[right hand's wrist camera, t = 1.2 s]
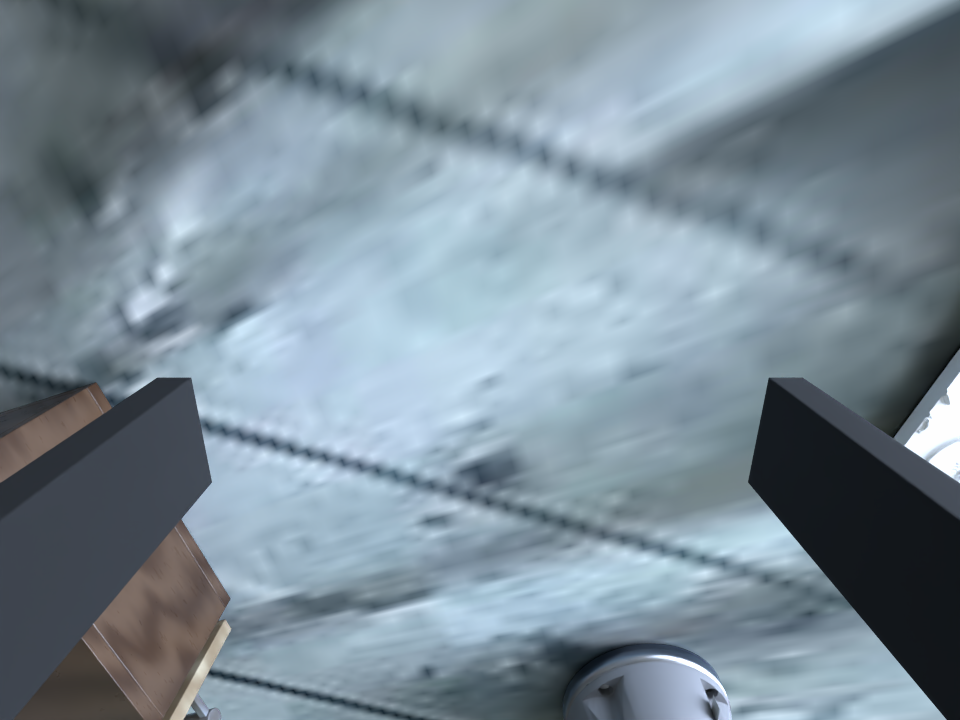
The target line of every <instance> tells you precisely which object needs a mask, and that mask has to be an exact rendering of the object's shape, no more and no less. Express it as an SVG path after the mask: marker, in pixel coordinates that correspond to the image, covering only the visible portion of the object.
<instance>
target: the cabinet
mask: <svg viewBox="0 0 960 720" xmlns="http://www.w3.org/2000/svg"><path fill="white" fill-rule="evenodd" d="M111 408H112V407H111V405H110V404H109V402H108V401H107V399H106V397H105V396H104V394H103V393H102V391H101V389H100V388H99V386H98V384H97V383H92V384H89V385H86V386H83V387H80V388H77V389H74V390H70V391H67V392H64V393H61V394H58V395H55V396H52V397H49V398H46V399H43V400H39V401H36V402H33V403H30V404H27V405H24V406H21V407H18V408H15V409H12V410H8V411H5V412H2V413H0V483H1V482H2V481H4V480H5V479H7V478H8V477H10V476H11V475H13V474H14V473H16V472H17V471H19V470H20V469H22V468H23V467H25V466H26V465H28V464H29V463H31V462H32V461H34V460H35V459H37V458H38V457H40V456H41V455H43V454H44V453H46V452H47V451H49V450H50V449H52V448H53V447H55V446H56V445H58V444H59V443H61V442H62V441H64V440H65V439H67V438H68V437H70V436H71V435H73V434H74V433H76V432H77V431H79V430H80V429H82V428H83V427H85V426H86V425H88V424H89V423H91V422H92V421H94V420H95V419H97V418H98V417H100V416H101V415H103V414H104V413H106V412H107V411H109V410H110V409H111ZM229 601H230V597H229V596H228V594H227V593H226V591H225V589H224V588H223V586H222V584H221V583H220V581H219V580H218V578H217V576H216V575H215V573H214V572H213V570H212V568H211V567H210V565H209V563H208V562H207V560H206V559H205V557H204V555H203V554H202V552H201V551H200V549H199V547H198V546H197V544H196V543H195V541H194V539H193V538H192V536H191V534H190V533H189V531H188V530H187V528H186V526H185V525H184V523H183V522H182V520H180V521H179V522H178V523H177V525H176V526H175V527H174V528H173V529H172V530H171V532H170V533H169V534H168V535H167V536H166V538H165V539H164V540H163V541H162V542H161V544H160V545H159V546H158V547H157V548H156V550H155V551H154V552H153V553H152V554H151V556H150V557H149V558H148V559H147V560H146V562H145V563H144V564H143V565H142V566H141V568H140V569H139V570H138V571H137V572H136V574H135V575H134V576H133V577H132V578H131V579H130V581H129V582H128V583H127V584H126V585H125V587H124V588H123V589H122V590H121V591H120V593H119V594H118V595H117V596H116V597H115V599H114V600H113V601H112V602H111V603H110V605H109V606H108V607H107V608H106V609H105V611H104V612H103V613H102V614H101V615H100V617H99V618H98V619H97V620H96V621H95V623H94V624H93V625H92V626H91V627H90V628H89V630H88V631H87V632H86V633H85V634H84V636H83V637H82V638H81V639H80V640H79V642H78V643H77V644H76V645H75V646H74V648H73V649H72V650H71V651H70V652H69V654H68V655H67V656H66V657H65V658H64V660H63V661H62V662H61V663H60V664H59V666H58V667H57V668H56V669H55V670H54V672H53V673H52V674H51V675H50V676H49V677H48V679H47V680H46V681H45V682H44V683H43V685H42V686H41V687H40V688H39V689H38V691H37V692H36V693H35V694H34V695H33V697H32V698H31V699H30V700H29V701H28V703H27V704H26V705H25V706H24V707H23V709H22V710H21V711H20V712H19V713H18V715H17V716H16V717H15V718H14V719H13V720H163V717H164V716H165V714H166V712H167V710H168V709H169V707H170V705H171V703H172V701H173V700H174V698H175V696H176V694H177V693H178V691H179V689H180V687H181V685H182V684H183V682H184V680H185V678H186V677H187V675H188V673H189V671H190V670H191V668H192V666H193V664H194V662H195V661H196V659H197V657H198V655H199V654H200V652H201V650H202V648H203V647H204V645H205V643H206V641H207V639H208V638H209V636H210V634H211V632H212V631H213V629H214V627H215V625H216V624H217V622H218V620H219V618H220V616H221V615H222V613H223V611H224V609H225V608H226V606H227V604H228V602H229Z"/></svg>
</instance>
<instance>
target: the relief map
mask: <svg viewBox="0 0 960 720" xmlns="http://www.w3.org/2000/svg"><path fill="white" fill-rule="evenodd" d="M893 439H895V440H896V441H898V442H899V443H901V444H902V445H904V446H905V447H907V448H908V449H910V450H911V451H913V452H914V453H916V454H917V455H919V456H920V457H922V458H923V459H925V460H926V461H928V462H929V463H931V464H932V465H934V466H935V467H937V468H938V469H940V470H941V471H943V472H944V473H946V474H947V475H949V476H950V477H952V478H953V479H955V480H956V481H958V482H959V483H960V349H959V350H958V352H957V353H956V354H955V356H954V357H953V358H952V360H951V361H950V362H949V364H948V365H947V367H946V368H945V369H944V371H943V372H942V373H941V375H940V376H939V377H938V379H937V380H936V381H935V383H934V384H933V385H932V387H931V388H930V389H929V391H928V392H927V394H926V395H925V396H924V398H923V399H922V400H921V402H920V403H919V404H918V406H917V407H916V408H915V410H914V411H913V412H912V414H911V415H910V416H909V418H908V419H907V421H906V422H905V423H904V425H903V426H902V427H901V429H900V430H899V431H898V433H897V434H896V435H895V437H894V438H893Z"/></svg>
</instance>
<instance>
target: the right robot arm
mask: <svg viewBox="0 0 960 720" xmlns="http://www.w3.org/2000/svg"><path fill="white" fill-rule="evenodd" d="M211 483H212V480H211V475H210V470H209V465H208V460H207V455H206V450H205V445H204V440H203V435H202V430H201V425H200V420H199V415H198V410H197V405H196V400H195V395H194V390H193V385H192V380H191V378H156V379H155V380H153V381H152V382H150V383H149V384H147V385H146V386H144V387H143V388H141V389H140V390H138V391H137V392H135V393H134V394H132V395H131V396H129V397H128V398H126V399H125V400H123V401H122V402H120V403H119V404H117V405H116V406H114V407H113V408H111V409H110V410H109V411H107V412H106V413H104V414H103V415H101V416H100V417H98V418H97V419H95V420H94V421H92V422H91V423H89V424H88V425H86V426H85V427H83V428H82V429H80V430H79V431H77V432H76V433H74V434H73V435H71V436H70V437H68V438H67V439H65V440H64V441H62V442H61V443H59V444H58V445H56V446H55V447H53V448H52V449H50V450H49V451H47V452H46V453H44V454H43V455H41V456H40V457H38V458H37V459H35V460H34V461H32V462H31V463H29V464H28V465H26V466H25V467H23V468H22V469H20V470H19V471H17V472H16V473H14V474H13V475H11V476H10V477H8V478H7V479H5V480H4V481H2V482H1V483H0V720H13V719H14V718H15V717H16V716H17V715H18V713H19V712H20V711H21V710H22V709H23V707H24V706H25V705H26V704H27V703H28V701H29V700H30V699H31V698H32V697H33V695H34V694H35V693H36V692H37V691H38V689H39V688H40V687H41V686H42V685H43V683H44V682H45V681H46V680H47V679H48V677H49V676H50V675H51V674H52V673H53V672H54V670H55V669H56V668H57V667H58V666H59V664H60V663H61V662H62V661H63V660H64V658H65V657H66V656H67V655H68V654H69V652H70V651H71V650H72V649H73V648H74V646H75V645H76V644H77V643H78V642H79V640H80V639H81V638H82V637H83V636H84V634H85V633H86V632H87V631H88V630H89V628H90V627H91V626H92V625H93V624H94V623H95V621H96V620H97V619H98V618H99V617H100V615H101V614H102V613H103V612H104V611H105V609H106V608H107V607H108V606H109V605H110V603H111V602H112V601H113V600H114V599H115V597H116V596H117V595H118V594H119V593H120V591H121V590H122V589H123V588H124V587H125V585H126V584H127V583H128V582H129V581H130V579H131V578H132V577H133V576H134V575H135V574H136V572H137V571H138V570H139V569H140V568H141V566H142V565H143V564H144V563H145V562H146V560H147V559H148V558H149V557H150V556H151V554H152V553H153V552H154V551H155V550H156V548H157V547H158V546H159V545H160V544H161V542H162V541H163V540H164V539H165V538H166V536H167V535H168V534H169V533H170V532H171V530H172V529H173V528H174V527H175V526H176V525H177V523H178V522H179V521H180V520H181V519H182V517H183V516H184V515H185V514H186V513H187V511H188V510H189V509H190V508H191V507H192V505H193V504H194V503H195V502H196V501H197V499H198V498H199V497H200V496H201V495H202V493H203V492H204V491H205V490H206V489H207V487H208V486H209V485H210V484H211ZM748 483H749V484H750V485H751V486H752V487H753V489H754V490H755V491H756V492H757V493H758V495H759V496H760V497H761V498H762V499H763V501H764V502H765V503H766V504H767V505H768V507H769V508H770V509H771V510H772V511H773V513H774V514H775V515H776V516H777V517H778V519H779V520H780V521H781V522H782V523H783V525H784V526H785V527H786V528H787V529H788V531H789V532H790V533H791V534H792V535H793V536H794V538H795V539H796V540H797V541H798V542H799V544H800V545H801V546H802V547H803V548H804V550H805V551H806V552H807V553H808V554H809V556H810V557H811V558H812V559H813V560H814V562H815V563H816V564H817V565H818V566H819V568H820V569H821V570H822V571H823V572H824V574H825V575H826V576H827V577H828V578H829V580H830V581H831V582H832V583H833V584H834V585H835V587H836V588H837V589H838V590H839V591H840V593H841V594H842V595H843V596H844V597H845V599H846V600H847V601H848V602H849V603H850V605H851V606H852V607H853V608H854V609H855V611H856V612H857V613H858V614H859V615H860V617H861V618H862V619H863V620H864V621H865V623H866V624H867V625H868V626H869V627H870V628H871V630H872V631H873V632H874V633H875V634H876V636H877V637H878V638H879V639H880V640H881V642H882V643H883V644H884V645H885V646H886V648H887V649H888V650H889V651H890V652H891V654H892V655H893V656H894V657H895V658H896V660H897V661H898V662H899V663H900V664H901V666H902V667H903V668H904V669H905V670H906V672H907V673H908V674H909V675H910V676H911V677H912V679H913V680H914V681H915V682H916V683H917V685H918V686H919V687H920V688H921V689H922V691H923V692H924V693H925V694H926V695H927V697H928V698H929V699H930V700H931V701H932V703H933V704H934V705H935V706H936V707H937V709H938V710H939V711H940V712H941V713H942V715H943V716H944V717H945V718H946V719H947V720H960V483H959V482H958V481H956V480H955V479H953V478H952V477H950V476H949V475H947V474H946V473H944V472H943V471H941V470H940V469H938V468H937V467H935V466H934V465H932V464H931V463H929V462H928V461H926V460H925V459H923V458H922V457H920V456H919V455H917V454H916V453H914V452H913V451H911V450H910V449H908V448H907V447H905V446H904V445H902V444H901V443H899V442H898V441H896V440H895V439H893V438H892V437H890V436H889V435H887V434H886V433H884V432H883V431H881V430H880V429H878V428H877V427H875V426H874V425H872V424H871V423H869V422H868V421H866V420H865V419H863V418H862V417H860V416H859V415H857V414H856V413H854V412H853V411H851V410H850V409H849V408H847V407H846V406H844V405H843V404H841V403H840V402H838V401H837V400H835V399H834V398H832V397H831V396H829V395H828V394H826V393H825V392H823V391H822V390H820V389H819V388H817V387H816V386H814V385H813V384H811V383H810V382H808V381H807V380H805V379H804V378H769V380H768V385H767V390H766V395H765V400H764V405H763V410H762V415H761V420H760V425H759V430H758V435H757V440H756V445H755V450H754V455H753V460H752V465H751V470H750V475H749V480H748ZM563 715H564V720H732V719H731V709H730V703H729V699H728V697H727V694H726V692H725V690H724V688H723V686H722V683H721V681H720V679H719V677H718V675H717V673H716V672H715V670H714V669H713V668H712V667H711V666H710V665H709V664H708V663H707V662H706V661H705V660H704V659H702V658H701V657H699V656H698V655H696V654H694V653H692V652H690V651H688V650H685V649H682V648H679V647H675V646H671V645H664V644H637V645H631V646H626V647H622V648H618V649H615V650H612V651H610V652H607V653H605V654H603V655H601V656H599V657H597V658H595V659H594V660H592V661H591V662H589V663H588V664H586V665H585V666H584V667H583V668H582V669H581V670H580V671H579V672H578V673H577V674H576V675H575V676H574V677H573V679H572V680H571V682H570V683H569V685H568V687H567V689H566V692H565V694H564V699H563Z"/></svg>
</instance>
